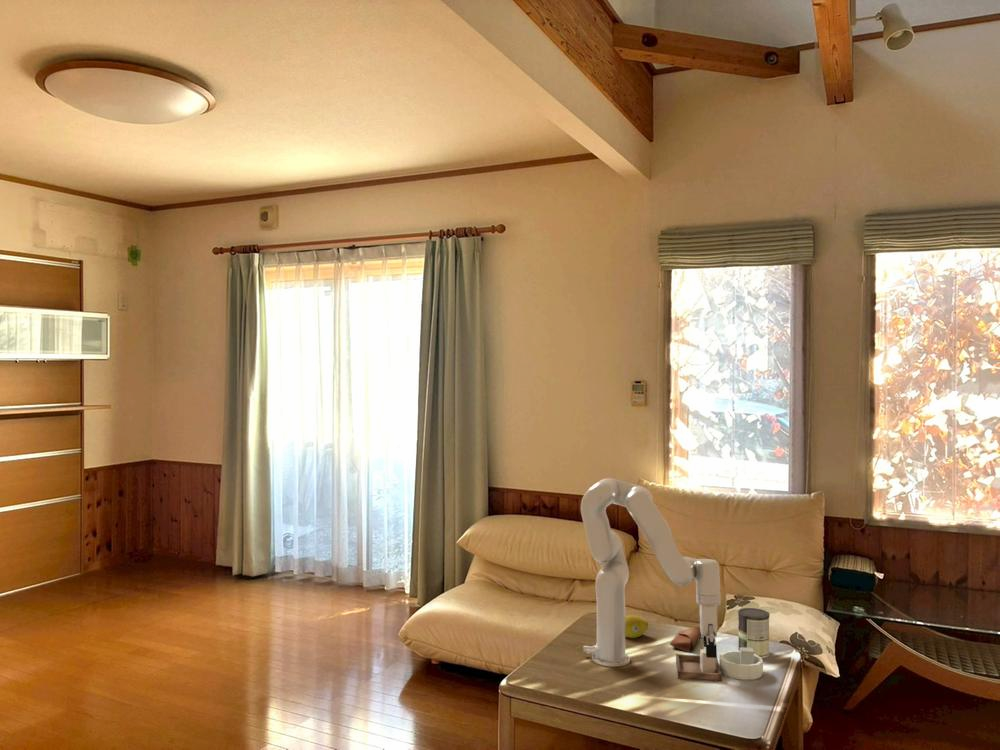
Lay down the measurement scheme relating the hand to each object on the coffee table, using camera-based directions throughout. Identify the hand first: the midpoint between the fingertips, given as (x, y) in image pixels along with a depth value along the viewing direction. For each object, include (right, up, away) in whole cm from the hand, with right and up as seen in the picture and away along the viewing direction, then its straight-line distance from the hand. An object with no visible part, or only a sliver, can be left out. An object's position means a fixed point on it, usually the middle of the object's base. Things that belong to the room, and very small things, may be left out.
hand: (710, 652), depth 243 cm
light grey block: (+12, -6, +1) cm, 13 cm away
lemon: (-19, -7, +32) cm, 38 cm away
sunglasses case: (-3, -7, +27) cm, 28 cm away
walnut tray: (-4, -6, +1) cm, 7 cm away
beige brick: (-1, -6, 0) cm, 6 cm away
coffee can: (+20, -7, +17) cm, 27 cm away
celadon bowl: (+10, -6, 0) cm, 12 cm away
